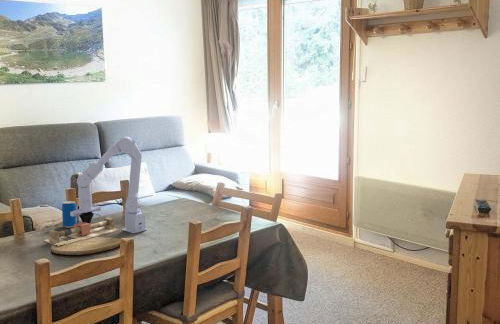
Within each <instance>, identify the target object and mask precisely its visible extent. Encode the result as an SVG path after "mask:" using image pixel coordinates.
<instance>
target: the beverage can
mask: <svg viewBox="0 0 500 324" xmlns="http://www.w3.org/2000/svg"><path fill="white" fill-rule="evenodd" d="M75 210H78V209H77V202H76V201H73V200H67V201H63V202H62V208H61V211H62V212H61V213H62V216H61V217H62V226H63V227H64V228H67V229H73V228H74V224H77V223H78V217H77V216H78V215H76V216H70V212H72V211H75Z"/></svg>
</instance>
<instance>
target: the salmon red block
mask: <svg viewBox="0 0 500 324" xmlns="http://www.w3.org/2000/svg"><path fill="white" fill-rule="evenodd" d="M90 224H91V223H90ZM90 224H89V223H86V222H77V224H74V227H73V228H77V227H81V232H79V233H77V234H79V235H82V236H83V235H87V234H90Z"/></svg>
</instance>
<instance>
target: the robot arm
mask: <svg viewBox="0 0 500 324" xmlns="http://www.w3.org/2000/svg"><path fill="white" fill-rule="evenodd" d="M121 152H123V153H124V154H126V155H127V156H129V157H130V159H131V160H130V169H129V170H130V171H129V182H128V192H127V198H126V200H125V204H124V208H125V210H124V224H125V225H124V226H125V227H123V228H121V230H122V231H124V232H127V233H131V234H138V233H141V232H145V231H147V230H148V229H147V228H146V217H145V214H143V213H142V210H141V208H140V206H139V205H140V199H139V189H140V188H139V187H140V178H141V165H142V152H141V150H140V148H139V147H138V145H137V143H136V141H135V140H134V139H133V138H132V137H131V136H128V135H126V136H125V135H124V136H122V137H120V139H119V140H117V141H116V142H114V143H113V144H112V145H111V146H110V147H109V148H108V150H106V151H105V152H104V154H103V155H102V156H101V157H100V158H99V159H98V160H93V162H91V161H90V162H89V164H88V166H87V168H85V169H84V170H82V171H81V174H80V175H78V177H77V179H76V184H77V186H78V187H77V188H78V191H77V194H78V207H79V208H78V209H77V210H75V211H72V212H70V216H76V215H77V216H78V217H79V218H80V219H81V221H82V222H86V223H89V224H92V223H91V222H92V219H93V217H94V215H95V213H94V212H100V211H102V206H100V205H95V206H93V197H92V188H91V187H92V185H91V183H92V182H93V180H95V179H96V178H97V177H98V176H99V175H100V174H101V172H103V170H104V165H105V164H106V163H108V161H109V160H111V158H112V157H113V156H114V155H115V154H119V153H121ZM82 222H81V223H82Z"/></svg>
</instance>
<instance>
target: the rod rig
mask: <svg viewBox="0 0 500 324" xmlns="http://www.w3.org/2000/svg"><path fill="white" fill-rule="evenodd" d="M114 221H115V220H114V218H111V217H108V216H107V217H104V218H103V221H99V222H94V223H90V234H87V235H83V236H82V235H79V234H77V233H79V232H81V227H77V228H74V227H72V228H67V229H63V230H60V231H56V230H53V229H51V230H48V238H47V239H44V240H43V241H44V243H48V244H50V245H53V244H56V243H60V242H63V241H68V240H71V239H77V238H85V237H94V238H97V237H101V236H105V235H109V234H111V233H116V232H119V231H120V229H118V228H116V227H115V222H114Z"/></svg>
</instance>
